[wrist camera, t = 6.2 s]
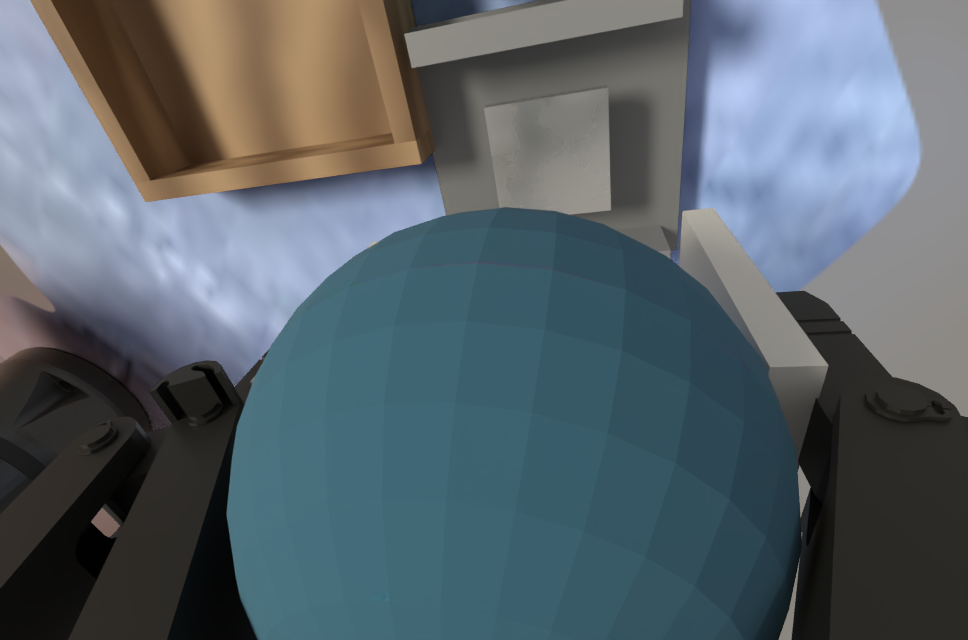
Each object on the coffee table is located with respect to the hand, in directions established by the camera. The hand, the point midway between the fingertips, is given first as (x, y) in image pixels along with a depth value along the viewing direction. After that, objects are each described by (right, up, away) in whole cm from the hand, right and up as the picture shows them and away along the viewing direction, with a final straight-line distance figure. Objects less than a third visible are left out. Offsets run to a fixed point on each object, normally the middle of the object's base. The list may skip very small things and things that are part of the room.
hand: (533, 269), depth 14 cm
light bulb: (0, +1, +1) cm, 1 cm away
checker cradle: (+3, +9, +14) cm, 17 cm away
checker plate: (+2, +7, +11) cm, 13 cm away
